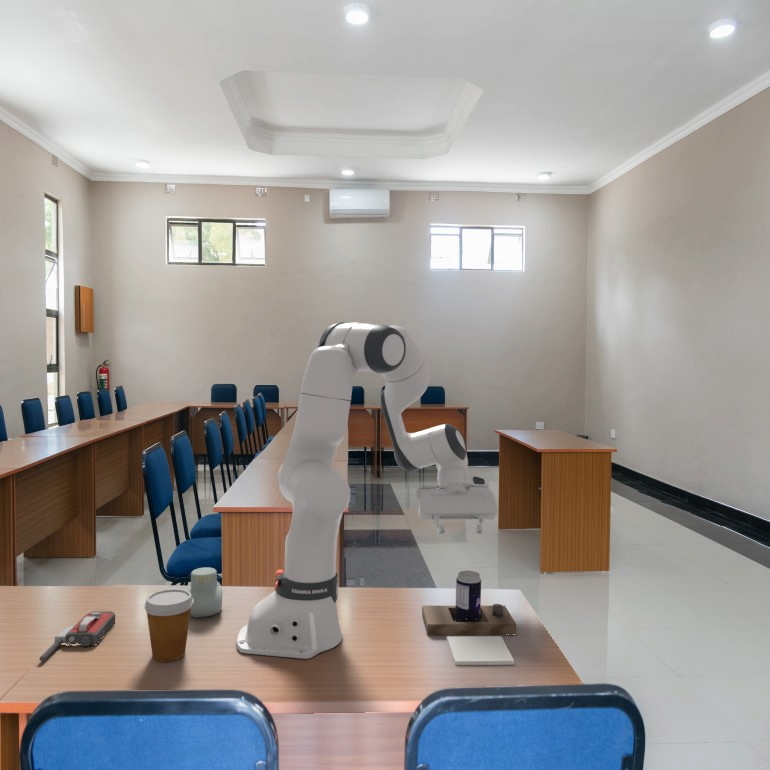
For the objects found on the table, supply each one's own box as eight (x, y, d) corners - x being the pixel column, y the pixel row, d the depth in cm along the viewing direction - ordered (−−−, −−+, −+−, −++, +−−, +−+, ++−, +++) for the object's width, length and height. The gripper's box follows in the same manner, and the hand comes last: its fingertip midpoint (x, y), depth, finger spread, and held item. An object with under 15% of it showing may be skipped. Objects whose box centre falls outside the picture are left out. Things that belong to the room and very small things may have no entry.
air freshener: (220, 620, 142) (221, 578, 142) (183, 623, 140) (183, 580, 140) (222, 602, 153) (222, 562, 152) (187, 604, 151) (187, 564, 150)
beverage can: (479, 631, 139) (480, 579, 138) (454, 629, 140) (455, 577, 140) (480, 621, 144) (481, 571, 144) (456, 619, 146) (457, 569, 145)
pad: (455, 665, 123) (455, 661, 123) (446, 640, 134) (446, 636, 134) (514, 664, 124) (514, 660, 124) (500, 639, 135) (501, 636, 135)
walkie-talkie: (79, 622, 140) (35, 666, 120) (79, 603, 140) (35, 644, 120) (119, 622, 141) (81, 666, 121) (119, 603, 141) (81, 644, 121)
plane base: (427, 635, 136) (427, 615, 136) (422, 615, 147) (422, 597, 147) (516, 635, 138) (516, 615, 137) (504, 615, 148) (505, 597, 148)
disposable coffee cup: (189, 664, 121) (190, 604, 121) (138, 667, 120) (139, 607, 119) (196, 642, 131) (196, 587, 130) (149, 645, 129) (149, 589, 129)
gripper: (416, 479, 160) (420, 526, 151) (494, 479, 161) (502, 526, 152) (414, 492, 165) (418, 539, 156) (490, 492, 166) (497, 538, 157)
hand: (460, 533), depth 154 cm, fingers open, 8 cm apart
